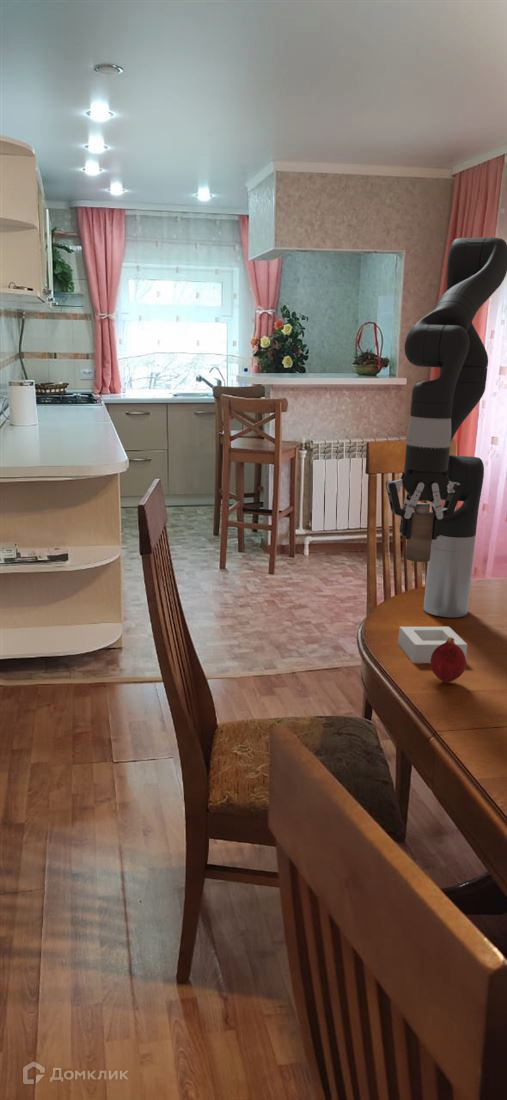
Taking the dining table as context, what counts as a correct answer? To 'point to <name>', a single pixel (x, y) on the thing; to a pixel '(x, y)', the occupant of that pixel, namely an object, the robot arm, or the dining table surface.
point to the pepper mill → (420, 534)
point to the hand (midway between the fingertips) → (419, 538)
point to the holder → (426, 641)
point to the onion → (448, 661)
